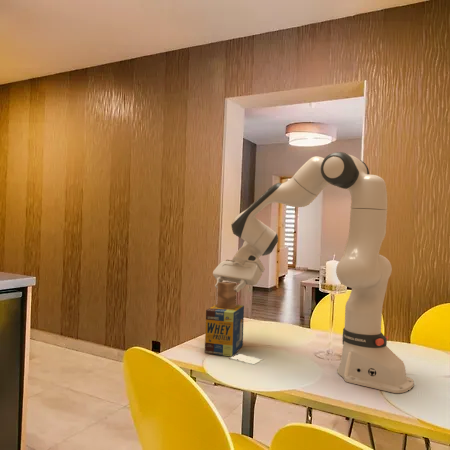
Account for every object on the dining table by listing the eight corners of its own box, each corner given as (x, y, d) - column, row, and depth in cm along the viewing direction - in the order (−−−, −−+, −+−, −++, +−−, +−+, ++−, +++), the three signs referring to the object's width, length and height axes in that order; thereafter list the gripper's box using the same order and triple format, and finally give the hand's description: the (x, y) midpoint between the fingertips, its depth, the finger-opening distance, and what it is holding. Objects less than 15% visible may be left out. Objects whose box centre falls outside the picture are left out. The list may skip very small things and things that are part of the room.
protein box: (204, 353, 145) (205, 309, 146) (217, 342, 160) (218, 302, 160) (232, 357, 142) (233, 312, 143) (243, 345, 157) (244, 304, 157)
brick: (236, 307, 152) (236, 283, 152) (227, 309, 148) (228, 284, 148) (225, 305, 155) (226, 281, 155) (217, 307, 151) (217, 282, 151)
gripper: (220, 254, 163) (202, 280, 156) (261, 258, 150) (243, 287, 142) (227, 264, 167) (209, 290, 159) (268, 270, 153) (251, 298, 146)
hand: (226, 289), depth 151 cm, fingers open, 8 cm apart
